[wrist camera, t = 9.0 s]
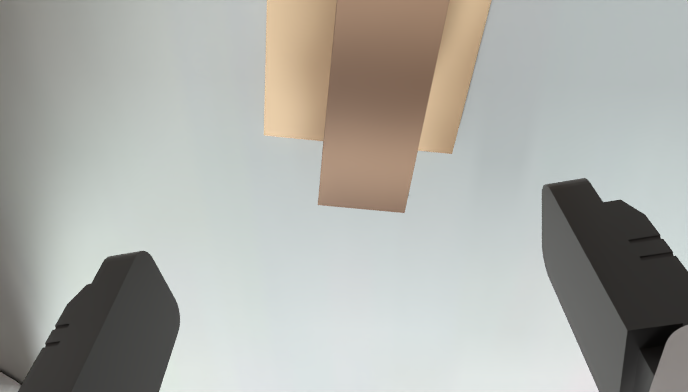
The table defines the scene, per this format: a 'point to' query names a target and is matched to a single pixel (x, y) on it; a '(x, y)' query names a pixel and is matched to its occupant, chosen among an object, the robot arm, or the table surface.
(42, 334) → the table surface
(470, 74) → the guide board
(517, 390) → the table surface
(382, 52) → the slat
